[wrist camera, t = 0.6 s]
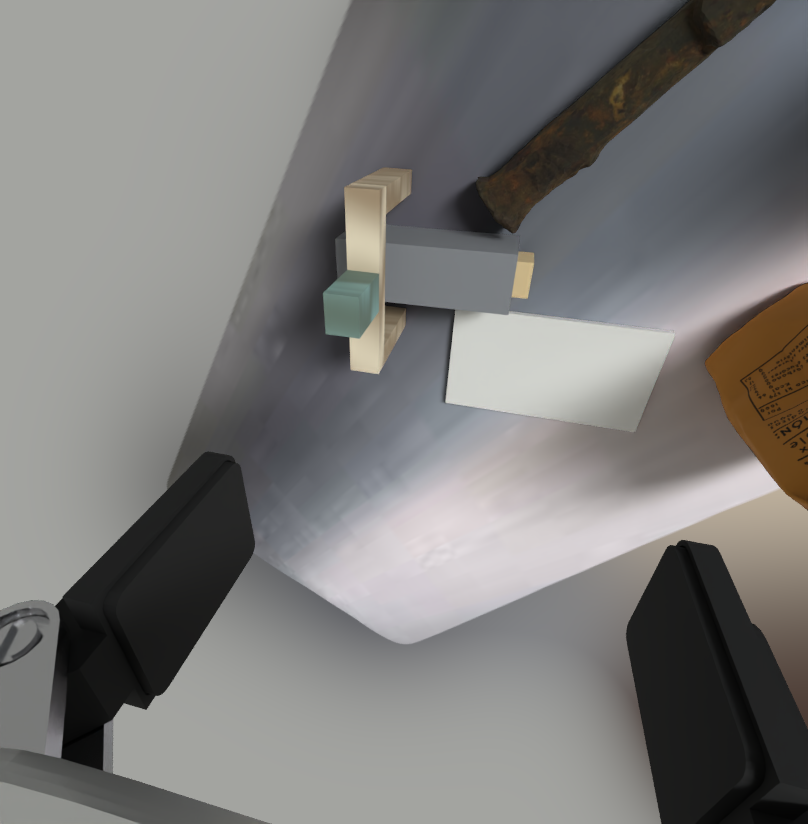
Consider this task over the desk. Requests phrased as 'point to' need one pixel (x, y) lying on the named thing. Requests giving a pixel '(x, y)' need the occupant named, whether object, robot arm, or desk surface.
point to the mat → (555, 367)
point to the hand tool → (613, 105)
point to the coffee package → (770, 389)
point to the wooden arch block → (367, 272)
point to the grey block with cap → (451, 268)
